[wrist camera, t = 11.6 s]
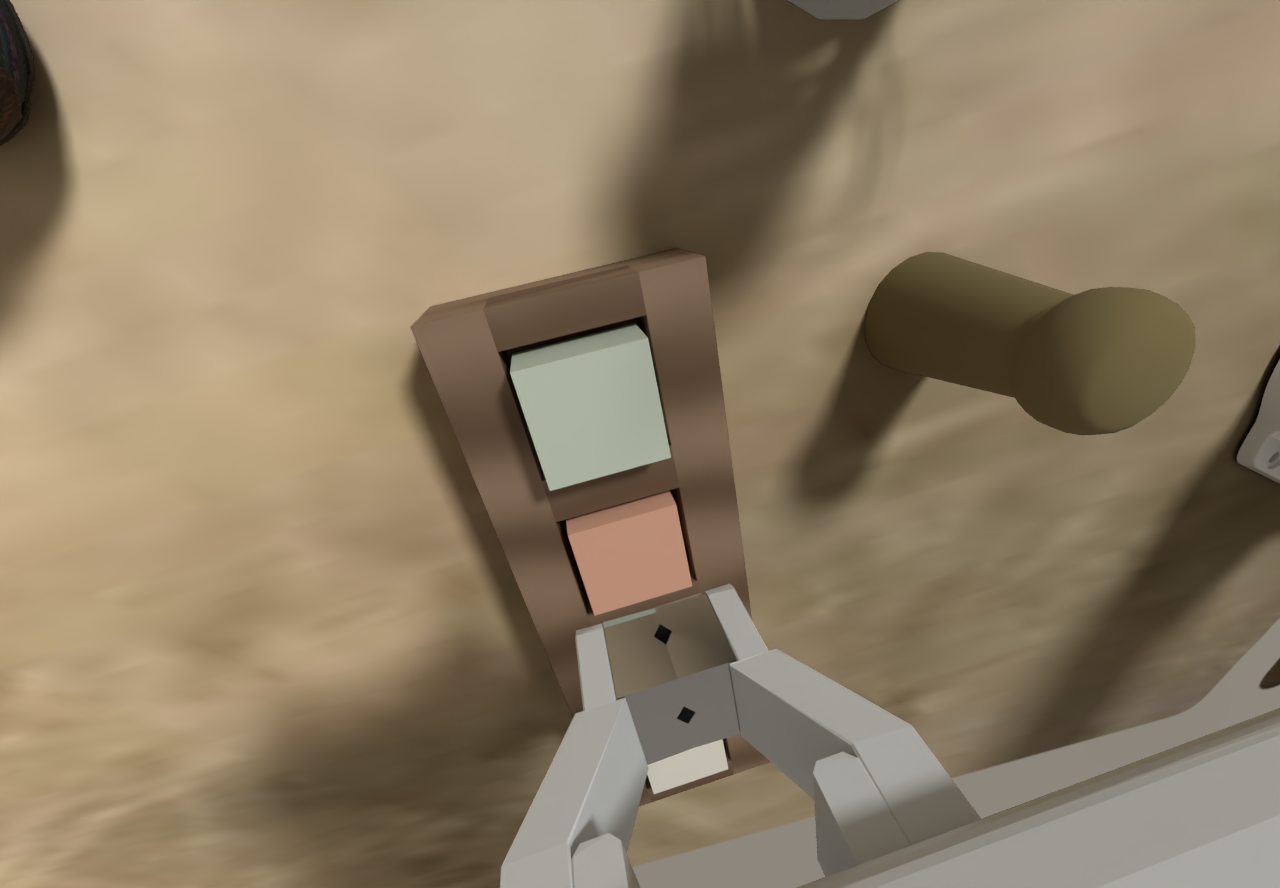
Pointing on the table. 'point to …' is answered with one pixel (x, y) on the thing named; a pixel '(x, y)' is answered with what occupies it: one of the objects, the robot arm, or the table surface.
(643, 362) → the sage key
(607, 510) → the terracotta key
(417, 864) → the table surface
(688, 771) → the cream key
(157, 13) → the table surface
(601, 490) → the key frame
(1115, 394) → the cork
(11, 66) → the mate gourd
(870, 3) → the french press
